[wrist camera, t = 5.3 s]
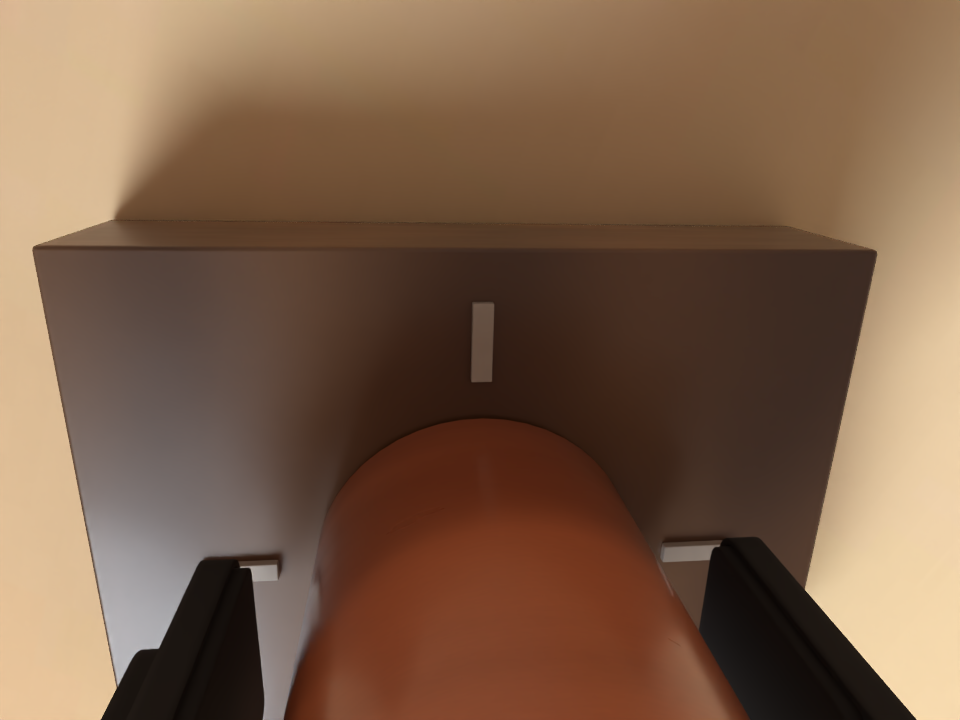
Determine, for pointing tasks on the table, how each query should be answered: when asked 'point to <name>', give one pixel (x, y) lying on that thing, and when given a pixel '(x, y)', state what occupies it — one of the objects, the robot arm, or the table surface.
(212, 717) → the robot arm
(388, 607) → the rotary dial knob
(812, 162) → the table surface
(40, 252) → the dial base plate
